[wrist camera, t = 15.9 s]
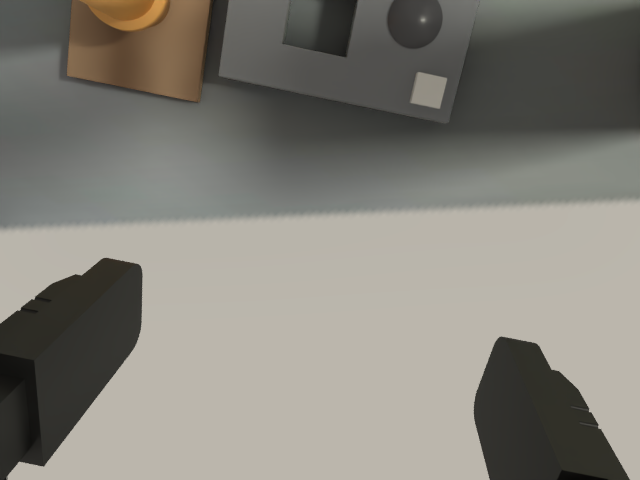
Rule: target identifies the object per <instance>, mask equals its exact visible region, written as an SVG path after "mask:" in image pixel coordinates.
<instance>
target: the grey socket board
mask: <svg viewBox="0 0 640 480" xmlns="http://www.w3.org/2000/svg"><path fill="white" fill-rule="evenodd" d="M291 2H292V0H229V3H228V10H227V18H226V25H225V32H224V39H223V46H222V53H221V61H220V68H219V75H218V76H221V77H223V78H226V79H231V80H236V81H241V82H245V83H250V84H255V85H260V86H265V87H269V88H274V89H279V90H284V91H289V92H294V93H298V94H303V95H308V96H313V97H318V98H322V99H327V100H332V101H337V102H342V103H347V104H351V105H356V106H361V107H366V108H371V109H376V110H380V111H385V112H390V113H395V114H400V115H404V116H409V117H414V118H419V119H424V120H429V121H433V122H438V123H449V119H450V116H451V112H452V108H453V104H454V100H455V96H456V92H457V88H458V84H459V80H460V76H461V73H462V69H463V65H464V61H465V57H466V53H467V49H468V45H469V41H470V37H471V34H472V30H473V26H474V22H475V18H476V14H477V10H478V6H479V2H480V0H356V4H355V9H354V14H353V19H352V24H351V29H350V35H349V40H348V45H347V50H346V55H345V57H341V56H337V55H332V54H327V53H323V52H318V51H313V50H309V49H304V48H299V47H295V46H290V45H285V44H284V43H285V37H286V31H287V25H288V19H289V13H290V7H291Z"/></svg>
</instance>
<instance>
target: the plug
mask: <svg viewBox="0 0 640 480" xmlns="http://www.w3.org/2000/svg"><path fill="white" fill-rule="evenodd" d="M79 1H81V2H83V3H85V4H87V5H88V6H89V8H90V9H91V11H92V12H93V13H94V14H95V15H96V16H97V17H98V18H99V19H100V20H101V21H103V22H104V23H106V24H108V25H110V26H112V27H114V28H116V29H119V30H122V31H127V32H136V31H142V30H145V29H147V28H150V27H154V26H156V25H158V24H159V23H161V22H162V21H163V20H164V18H165V17H166V15H167V13H168V11H169V7H170V0H79Z"/></svg>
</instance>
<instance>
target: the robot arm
mask: <svg viewBox="0 0 640 480" xmlns="http://www.w3.org/2000/svg"><path fill="white" fill-rule="evenodd" d="M141 314H142V269H141V266H140V265H139V264H135V263H130V262H125V261H120V260H115V259H109V258H103V259H102V260H100V261H99V262H98V263H97V264H95V265H94V266H93V267H92V268H91V269H89V270H88V271H87V272H86V273H84V274H83V275H82V276H81V275H76V274H75V275H73V276H70V277H68V278H65V279H63V280H60V281H58V282H55V283H53V284H51V285H50V286H48V287H47V288H46V289H45V290H43V291H42V292H41V293H39V294H38V295H37V296H36V297H35V300H30V301H29V302H28V303H26V304H25V305H24V306H23V307H21V310H20V311H16V312H15V313H14V314H12V315H11V316H10V317H8V318H7V319H6V320H5V321H3V322H2V323H1V324H0V480H8V477H7V476H8V474H9V473H10V472H11V471H12V470H13V468H14V467H15V466H16V465H17V463H18V462H25V463H29V464H34V465H38V466H44V465H45V464H46V463H47V461H48V460H49V459H50V458H51V456H52V455H53V454H54V452H55V451H56V450H57V448H58V447H59V446H60V445H61V443H62V442H63V441H64V439H65V438H66V437H67V435H68V434H69V433H70V431H71V430H72V429H73V428H74V426H75V425H76V424H77V422H78V421H79V420H80V418H81V417H82V416H83V415H84V413H85V412H86V410H87V409H88V408H89V407H90V405H91V404H92V403H93V401H94V400H95V399H96V398H97V396H98V395H99V394H100V392H101V391H102V390H103V388H104V387H105V386H106V384H107V383H108V382H109V380H110V379H111V378H112V377H113V375H114V374H115V373H116V371H117V370H118V369H119V367H120V366H121V365H122V364H123V362H124V360H125V359H126V358H127V357H128V356H129V354H130V353H131V352H132V350H133V349H134V347H135V345H136V343H137V340H138V337H139V334H140V330H141V317H142V316H141ZM474 419H475V424H476V428H477V432H478V435H479V439H480V443H481V447H482V451H483V455H484V459H485V462H486V466H487V470H488V474H489V478H490V480H630V479H629V478H628V476H627V474H626V472H625V471H624V469H623V467H622V465H621V464H620V462H619V460H618V458H617V457H616V455H615V453H614V451H613V450H612V448H611V446H610V444H609V443H608V441H607V439H606V437H605V436H604V434H603V432H602V431H601V429H598V423H597V422H596V420H595V418H594V416H593V415H592V413H590V412H589V408H588V406H587V404H586V402H585V401H584V399H583V397H582V396H581V394H580V392H579V390H578V389H577V388H576V387H575V386H574V385H573V384H572V383H571V382H570V381H569V380H567V379H566V377H564V376H563V375H562V374H561V373H560V372H559V371H555V370H551V368H550V366H549V364H548V362H547V360H546V358H545V357H544V355H543V353H542V351H541V349H540V347H539V346H538V345H537V344H536V343H532V342H527V341H521V340H516V339H512V338H506V337H499V338H498V339H497V341H496V342H495V344H494V347H493V349H492V352H491V355H490V357H489V360H488V363H487V365H486V368H485V371H484V374H483V376H482V379H481V381H480V384H479V387H478V390H477V393H476V396H475V402H474Z"/></svg>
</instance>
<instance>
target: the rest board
mask: <svg viewBox="0 0 640 480" xmlns="http://www.w3.org/2000/svg"><path fill="white" fill-rule="evenodd" d="M212 7H213V0H170V7H169V11H168V13H167V15H166V17H165V18H164V20H163V21H162V22H161V23H159V24H158V25H156V26H154V27H150V28H147V29H145V30H142V31H136V32H127V31H122V30H119V29H116V28H114V27H112V26H110V25H108V24H106V23H104V22H103V21H101V20H100V19H99V18H98V17H97V16H96V15H95V14H94V13H93V12H92V11H91V9H90V8H89V6H88V5H87V4H85V3H83V2H81V1H79V0H72V6H71V21H70V36H69V51H68V66H67V76H71V77H76V78H81V79H86V80H91V81H96V82H101V83H106V84H110V85H115V86H120V87H125V88H130V89H135V90H140V91H145V92H150V93H155V94H160V95H165V96H170V97H175V98H179V99H184V100H189V101H194V102H200V97H201V90H202V82H203V75H204V67H205V60H206V52H207V44H208V37H209V29H210V22H211V14H212Z"/></svg>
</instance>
